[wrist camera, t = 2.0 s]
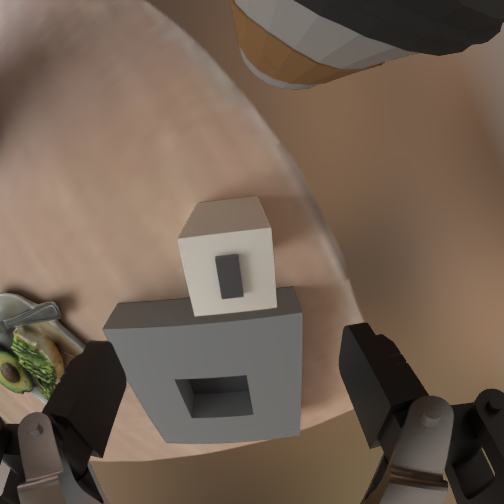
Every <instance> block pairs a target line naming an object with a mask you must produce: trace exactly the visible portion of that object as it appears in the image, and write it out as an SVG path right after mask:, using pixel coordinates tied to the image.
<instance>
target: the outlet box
mask: <svg viewBox="0 0 504 504" xmlns="http://www.w3.org/2000/svg"><path fill="white" fill-rule="evenodd" d="M276 299H277V308H270V309H261V310H253V311H244V312H235V313H226V314H216V315H205V316H194V312H193V307H192V303H191V299H190V298H184V299H172V300H160V301H148V302H134V303H120V304H117V305H116V307H115V309H114V310H113V312H112V314H111V315H110V317H109V319H108V320H107V322H106V324H105V325H104V327H103V329H102V330H103V332H104V334H105V336H106V338H107V341H109V342H111V343H112V345H113V347H114V349H115V351H116V354H117V356H118V358H119V360H120V363H121V365H122V367H123V369H124V371H125V374H126V379H127V381H128V382H129V384H130V386H131V388H132V390H133V391H134V393H135V395H136V397H137V398H138V400H139V402H140V403H141V405H142V407H143V408H144V410H145V412H146V413H147V415H148V416H149V418H150V420H151V421H152V423H153V424H154V426H155V427H156V429H157V430H158V432H159V433H160V435H161V436H162V438H163V439H164V441H165V442H166V443H180V444H213V443H235V442H249V441H259V440H268V439H276V438H283V437H290V436H296V435H300V417H301V393H302V354H303V312H302V309H301V307H300V304H299V301H298V299H297V296H296V294H295V291H294V289H293V286H291V287H284V288H276Z"/></svg>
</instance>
